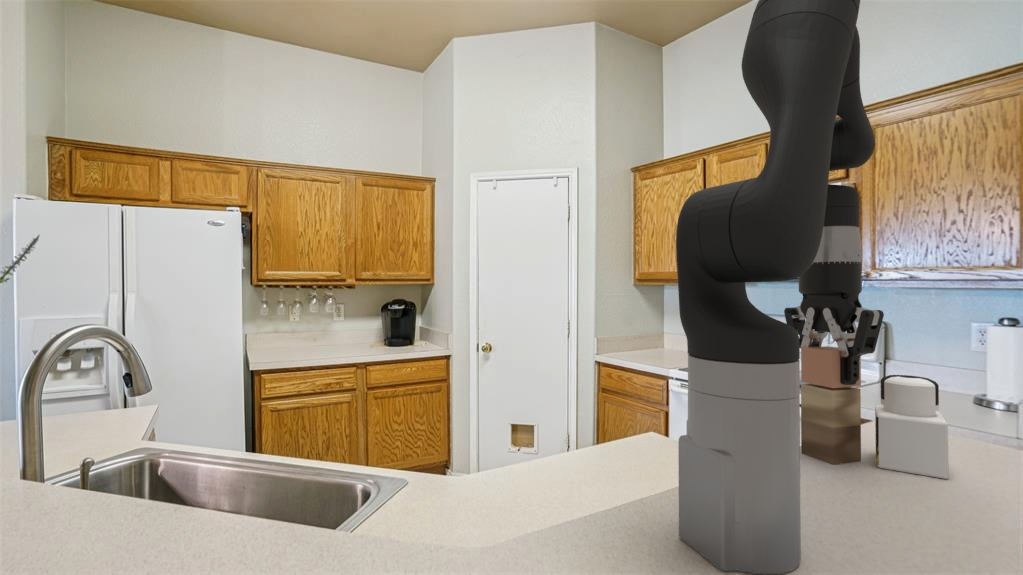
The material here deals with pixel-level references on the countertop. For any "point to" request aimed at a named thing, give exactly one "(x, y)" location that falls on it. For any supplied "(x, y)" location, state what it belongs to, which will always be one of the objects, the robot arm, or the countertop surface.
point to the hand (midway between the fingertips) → (829, 380)
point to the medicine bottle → (911, 427)
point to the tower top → (831, 405)
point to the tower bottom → (831, 442)
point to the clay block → (823, 367)
